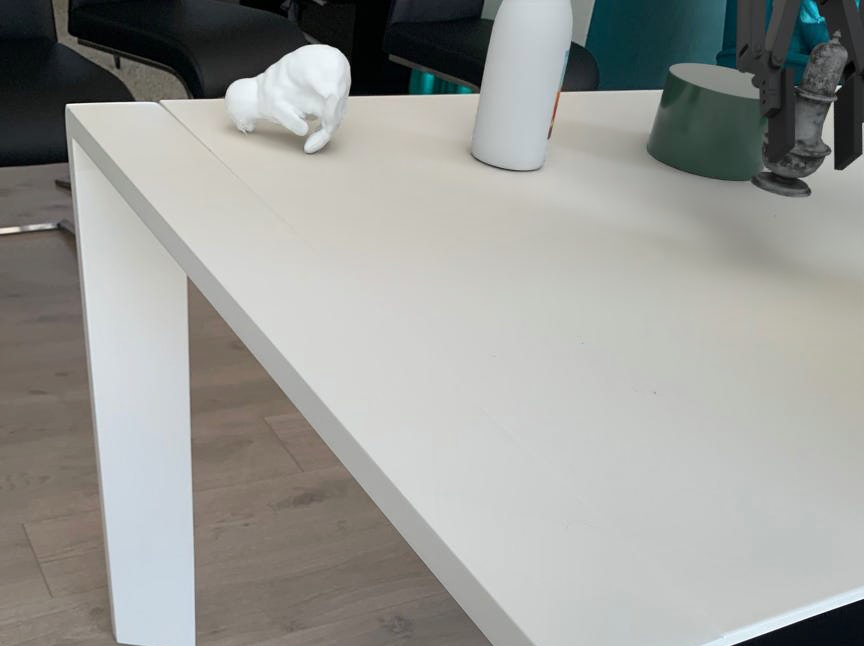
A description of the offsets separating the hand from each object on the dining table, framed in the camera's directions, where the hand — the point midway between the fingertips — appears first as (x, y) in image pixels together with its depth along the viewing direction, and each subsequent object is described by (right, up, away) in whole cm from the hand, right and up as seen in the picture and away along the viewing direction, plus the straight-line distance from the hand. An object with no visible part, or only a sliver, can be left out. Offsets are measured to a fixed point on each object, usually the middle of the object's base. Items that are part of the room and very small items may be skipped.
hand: (815, 157), depth 83 cm
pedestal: (0, +14, +30) cm, 33 cm away
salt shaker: (-1, 0, +5) cm, 5 cm away
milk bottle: (-23, +9, +21) cm, 32 cm away
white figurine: (-45, +9, +15) cm, 49 cm away
